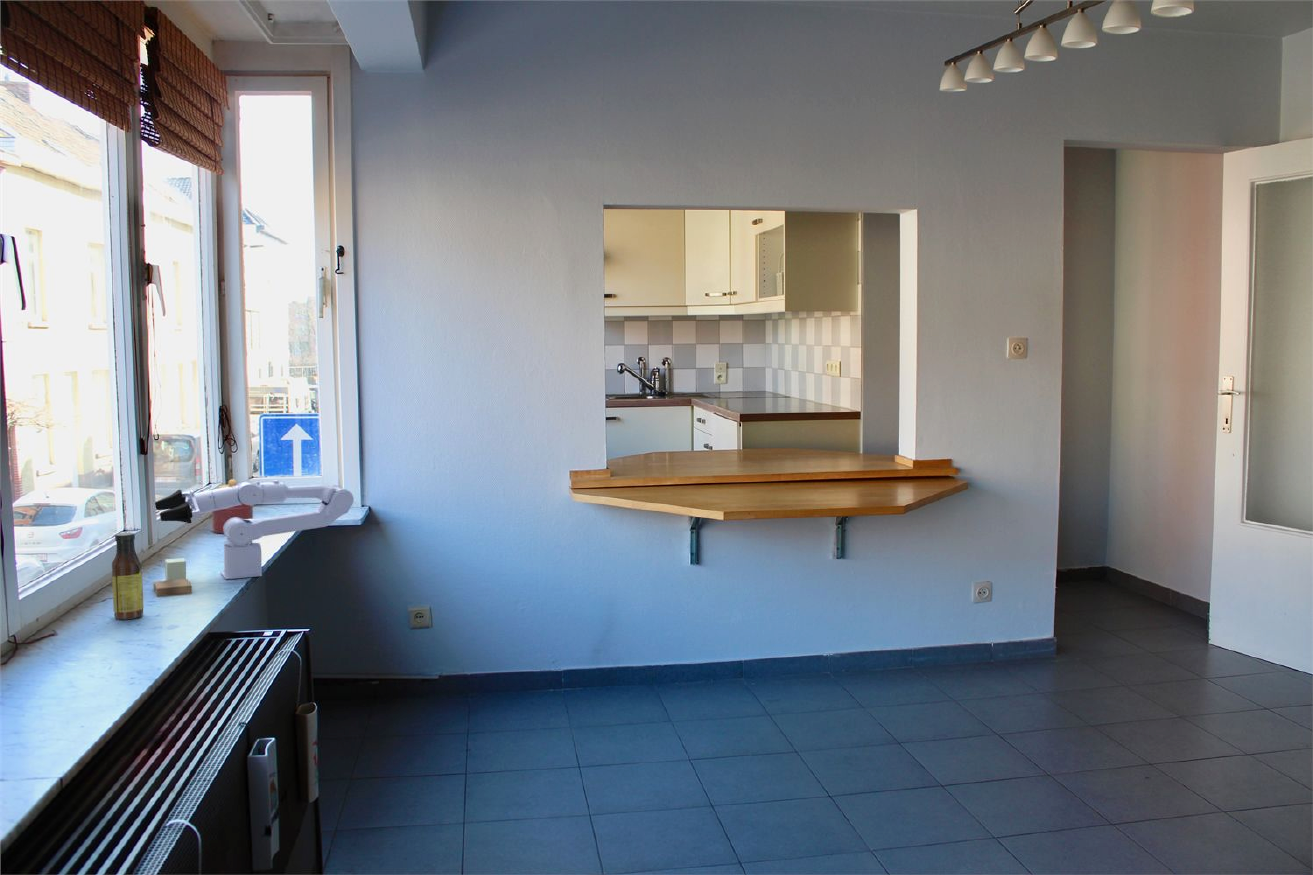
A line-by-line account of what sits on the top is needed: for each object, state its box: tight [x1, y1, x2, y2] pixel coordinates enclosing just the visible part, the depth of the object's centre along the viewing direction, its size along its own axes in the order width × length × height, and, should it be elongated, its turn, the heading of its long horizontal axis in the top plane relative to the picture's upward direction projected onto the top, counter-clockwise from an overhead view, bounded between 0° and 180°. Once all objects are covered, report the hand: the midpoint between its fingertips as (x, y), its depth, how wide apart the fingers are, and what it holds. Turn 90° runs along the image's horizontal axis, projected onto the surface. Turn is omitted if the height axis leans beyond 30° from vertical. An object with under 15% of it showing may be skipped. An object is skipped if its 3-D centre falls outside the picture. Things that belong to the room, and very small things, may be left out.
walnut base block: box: [153, 578, 193, 597], centre depth 260 cm, size 8×8×2 cm
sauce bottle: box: [111, 531, 144, 620], centre depth 235 cm, size 6×6×20 cm
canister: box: [211, 478, 254, 535], centre depth 340 cm, size 13×13×18 cm
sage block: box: [164, 557, 187, 581], centre depth 270 cm, size 4×4×6 cm
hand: (157, 511), depth 267 cm, fingers open, 7 cm apart
